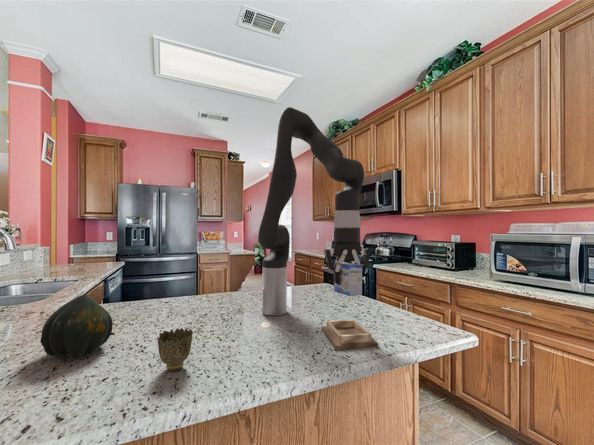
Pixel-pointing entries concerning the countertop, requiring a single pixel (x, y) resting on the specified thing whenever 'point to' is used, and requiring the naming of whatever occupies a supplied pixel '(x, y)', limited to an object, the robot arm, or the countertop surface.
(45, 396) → the countertop surface
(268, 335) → the countertop surface
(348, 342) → the holder
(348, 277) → the medicine box
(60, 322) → the squash
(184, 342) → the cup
